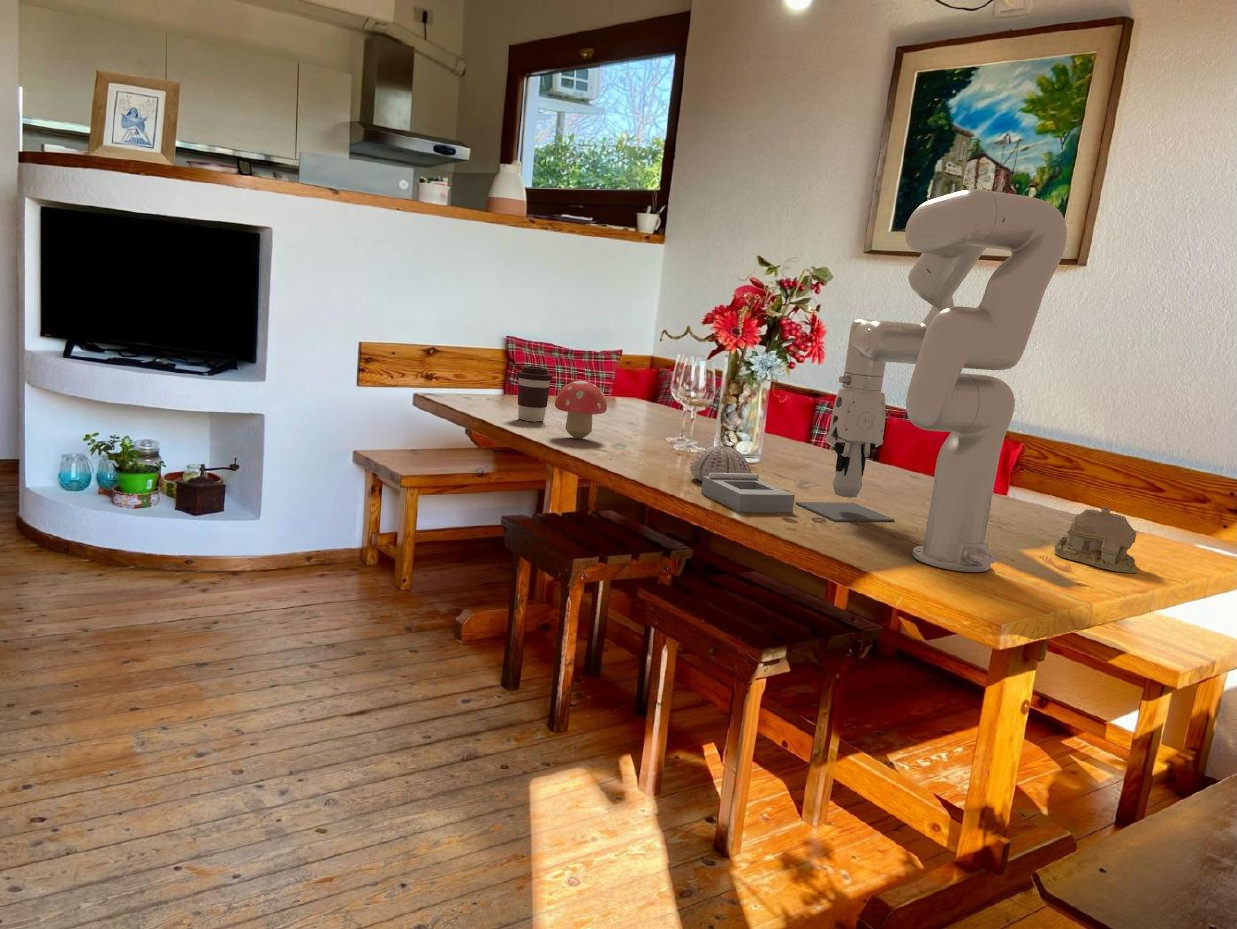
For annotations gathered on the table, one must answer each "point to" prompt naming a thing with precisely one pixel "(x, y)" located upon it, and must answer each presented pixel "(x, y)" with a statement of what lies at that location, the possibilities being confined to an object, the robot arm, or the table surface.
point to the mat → (843, 511)
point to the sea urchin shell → (719, 462)
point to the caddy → (746, 493)
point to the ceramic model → (1099, 541)
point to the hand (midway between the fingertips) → (849, 474)
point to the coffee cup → (533, 392)
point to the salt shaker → (850, 474)
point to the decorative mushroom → (580, 406)
